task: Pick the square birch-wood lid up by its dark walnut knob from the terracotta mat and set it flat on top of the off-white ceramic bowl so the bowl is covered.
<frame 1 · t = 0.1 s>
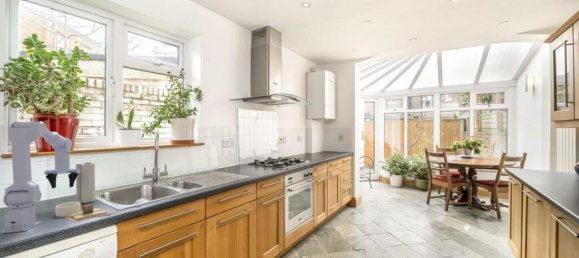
hand: (62, 187, 133), 10 cm above the countertop, tool pointing down, fingers open, 7 cm apart
mat: (87, 215, 120), on the countertop
paper towel roll: (87, 201, 142), on the countertop
bowl: (68, 214, 122), on the countertop
lid: (87, 214, 120), resting on mat
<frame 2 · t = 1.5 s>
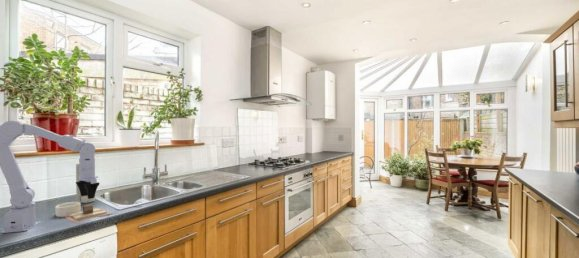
hand: (87, 197, 120), 9 cm above the countertop, tool pointing down, fingers open, 7 cm apart
nothing on the countertop moved.
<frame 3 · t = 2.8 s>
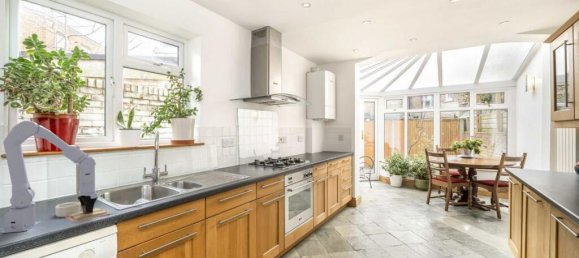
hand: (87, 211, 120), 2 cm above the countertop, tool pointing down, fingers closed on lid, 3 cm apart
lid: (87, 214, 120), resting on mat, touching gripper
everything else where it was.
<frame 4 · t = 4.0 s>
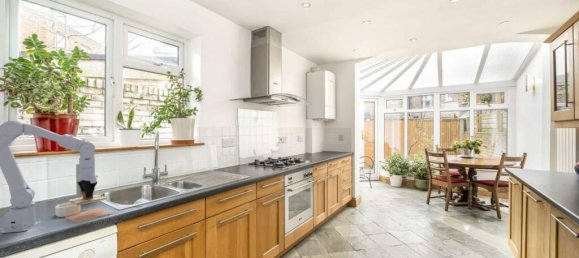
hand: (87, 196, 120), 9 cm above the countertop, tool pointing down, fingers closed on lid, 3 cm apart
lid: (87, 200, 120), point 7 cm above the countertop, touching gripper
everything else where it was.
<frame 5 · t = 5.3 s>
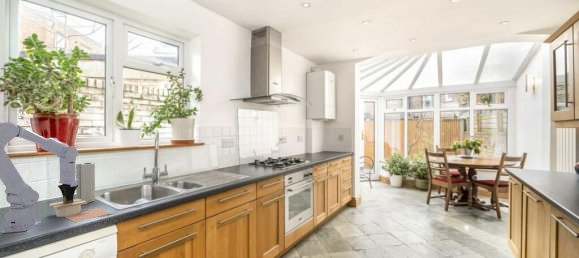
hand: (68, 199, 122), 7 cm above the countertop, tool pointing down, fingers closed on lid, 3 cm apart
lid: (68, 204, 122), point 4 cm above the countertop, touching bowl, gripper
everything else where it was.
when the fingers open (7 cm above the countertop, at t = 5.5 s): lid stays where it is, resting on bowl.
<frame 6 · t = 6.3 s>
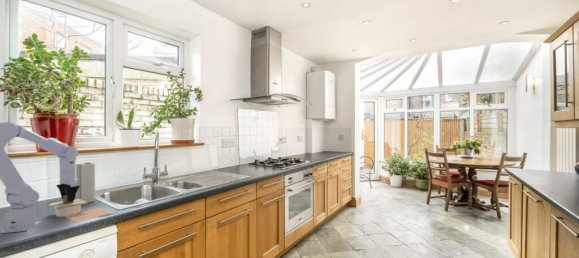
hand: (68, 199, 122), 7 cm above the countertop, tool pointing down, fingers open, 7 cm apart
lid: (68, 204, 122), point 4 cm above the countertop, touching bowl
everything else where it was.
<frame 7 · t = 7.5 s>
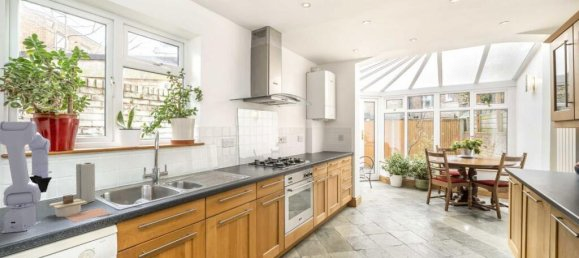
hand: (40, 191, 124), 10 cm above the countertop, tool pointing down, fingers open, 7 cm apart
nothing on the countertop moved.
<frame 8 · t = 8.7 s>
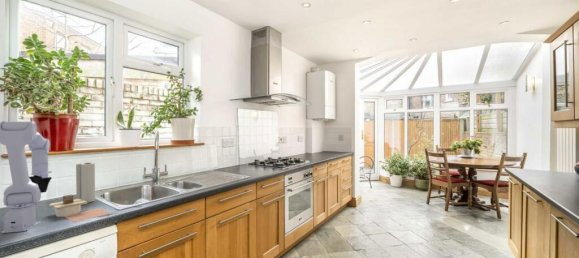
hand: (40, 191, 124), 10 cm above the countertop, tool pointing down, fingers open, 7 cm apart
nothing on the countertop moved.
at the end: lid 0.0 cm off-centre on the bowl, point 4.5 cm above the bowl's base; lid tilted 0°; lid touching bowl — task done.
